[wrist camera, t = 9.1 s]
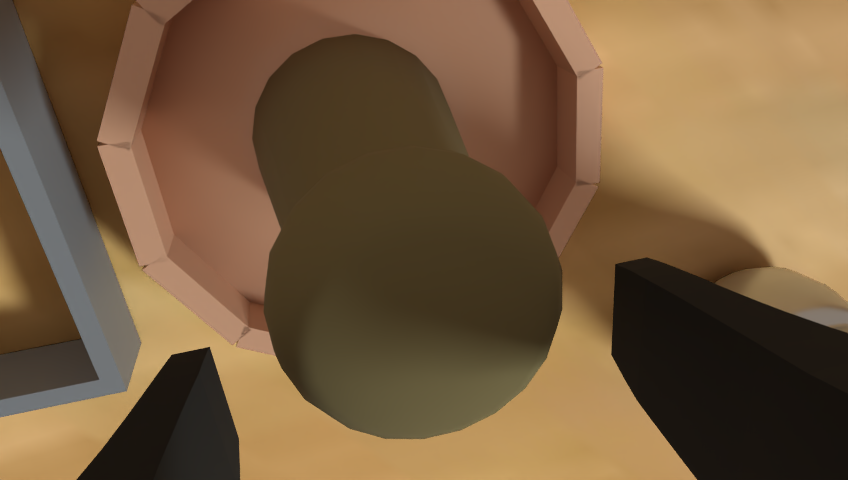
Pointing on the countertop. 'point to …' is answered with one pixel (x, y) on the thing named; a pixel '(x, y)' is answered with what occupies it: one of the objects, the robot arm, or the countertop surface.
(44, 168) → the parts tray
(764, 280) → the plastic bottle
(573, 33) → the dish
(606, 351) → the countertop surface
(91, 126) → the countertop surface
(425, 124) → the olive rounded piece
